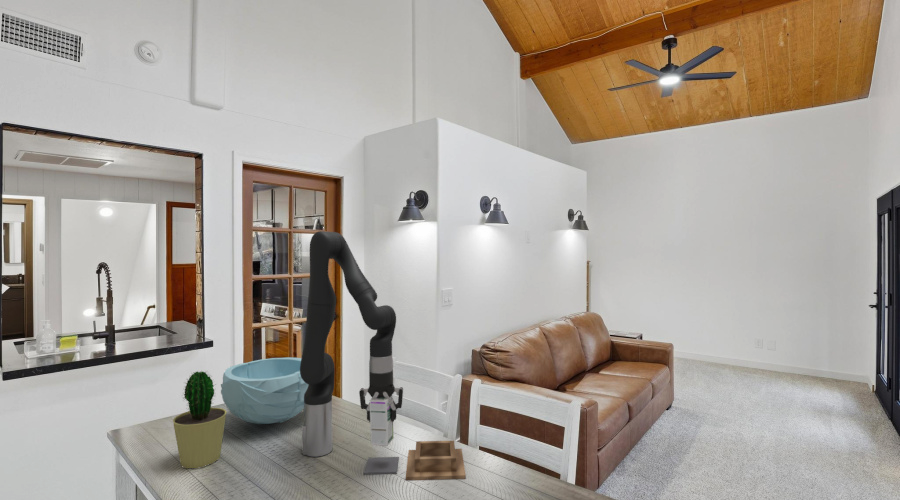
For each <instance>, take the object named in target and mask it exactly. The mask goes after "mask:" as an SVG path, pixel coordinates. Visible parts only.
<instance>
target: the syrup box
mask: <svg viewBox="0 0 900 500" xmlns="http://www.w3.org/2000/svg"><path fill="white" fill-rule="evenodd" d="M390 398H391V397H390ZM369 402H370V422H369V425H370V427H369V428H370V445H371V446H379V447H381V446H382V447H388V446H389V445H390V444H391V442H392V441H393V440H394V438H395V437H394V422H392V417H391V410H392V408H391V406H390V405H389V403H388V399H386V398H376V399H372V398H370V399H369Z"/></svg>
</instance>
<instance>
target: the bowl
mask: <svg viewBox="0 0 900 500" xmlns="http://www.w3.org/2000/svg"><path fill="white" fill-rule="evenodd" d="M301 359H302V357H291V356H290V357H270V358H263V359H258V360H257V359H256V360H253V361H248V362H243V363H238V364H235V365H232V366H230V367H227V368H226V369H225V371H224V372H223V375H222V383H221V384H220V388H221V389H220V394H221V397H222V400H223V402H224V405H226V408H227V410H229V412H230V413H232V414H233V415H234V416H235V417H237V418H238V419H241V420H242V421H244V422H246V423H251V424H256V425H265V424H266V425H269V424H277V423H281V424H282V423H284V422H287V421H288V420H290V419H292V418H293V417H296V416H297V415H298V414H300V413H301V412H302V411H304V394H305V392H306V390H307V388H308V385H309V384H307V383H305V382H304V381H303V379H302V378H301V375H300V364H301Z"/></svg>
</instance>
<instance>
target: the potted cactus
mask: <svg viewBox="0 0 900 500" xmlns="http://www.w3.org/2000/svg"><path fill="white" fill-rule="evenodd" d="M212 377H213V375H210V374H208V370H205V371H202V370H201V371H194V372H191V375H190V376H189V379H188V378H187V381H184V384H185V386H184V392H182V394H183V396H184V397H183V396H182V402H185V401H186V402H187V403H186V405H188V407H186V410H187V411H185V412H183V413H180V414H178V415H176V416H175V417H174V418H173V420H172V422H173V429H174V434H175V439H176V445H177V451H178V457H179V463H180V466H181V465H182V466H183V467H185V468H184V469H186V468H197V469H199V468H198V467H202V468H204V467H203V466H205V465H208V464H211V463H213V462H215V461H216V460H217V459H220V458H219V457H221V452H222V445H223V440H224V439H223V437H224V431H225V424H226V417H227V412H228V411H227V410H226V409H225V408H221V407H212V404H213V401H214V400H215V399H214V398H213V397H214V396H215V394H216V392H215V388H214V386H216V385H217V383H216V384H214V381H213V379H212ZM184 400H185V401H184ZM216 462H217V461H216ZM216 462H215V463H216ZM213 464H214V463H213ZM211 465H212V464H211ZM182 466H181V467H182ZM183 467H182V468H183Z"/></svg>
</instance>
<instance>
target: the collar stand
mask: <svg viewBox="0 0 900 500" xmlns="http://www.w3.org/2000/svg"><path fill="white" fill-rule="evenodd" d="M455 447H456V446H455V440H427V441H426V440H424V441H423V440H422V441H419V440H418V441H415V449H408V452H407V462H406V472H405V481H427V480H429V481H430V480H431V481H432V480H433V481H434V480H435V481H436V480H466V476H467V475H466V469H465V462H464V457H463V456H464V455H463V450H462V448H455Z"/></svg>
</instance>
